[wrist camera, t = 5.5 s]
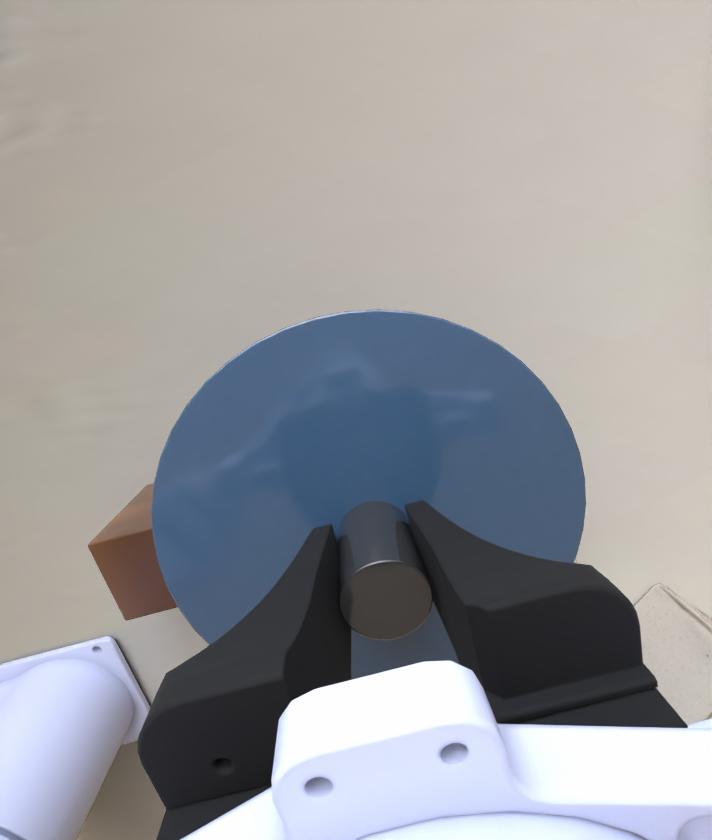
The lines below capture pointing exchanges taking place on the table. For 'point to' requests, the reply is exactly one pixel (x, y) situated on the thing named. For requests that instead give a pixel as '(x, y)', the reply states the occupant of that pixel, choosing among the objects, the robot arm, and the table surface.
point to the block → (132, 560)
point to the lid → (360, 472)
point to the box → (677, 651)
